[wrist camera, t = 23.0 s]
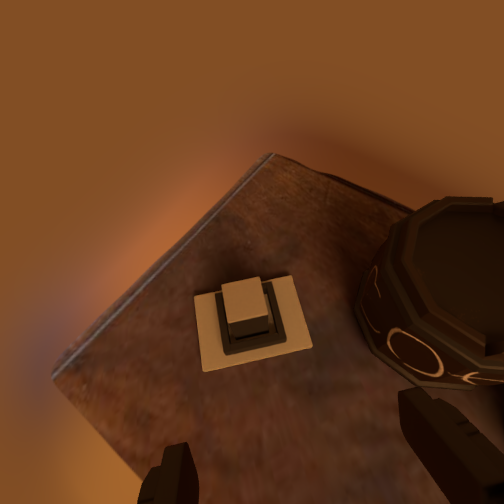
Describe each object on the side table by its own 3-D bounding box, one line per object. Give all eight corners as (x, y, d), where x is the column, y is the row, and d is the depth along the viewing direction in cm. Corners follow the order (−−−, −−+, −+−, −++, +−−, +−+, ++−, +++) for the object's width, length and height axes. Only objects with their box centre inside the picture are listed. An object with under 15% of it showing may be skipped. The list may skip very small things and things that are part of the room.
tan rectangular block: (261, 301, 40) (259, 276, 33) (269, 332, 38) (268, 312, 31) (230, 308, 40) (221, 284, 33) (235, 340, 38) (227, 322, 31)
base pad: (290, 278, 43) (292, 268, 40) (311, 347, 38) (314, 341, 35) (195, 299, 42) (190, 290, 40) (204, 372, 37) (199, 368, 35)
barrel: (424, 432, 33) (531, 439, 19) (323, 301, 41) (348, 242, 27) (532, 344, 37) (684, 299, 23) (420, 241, 45) (483, 162, 31)
